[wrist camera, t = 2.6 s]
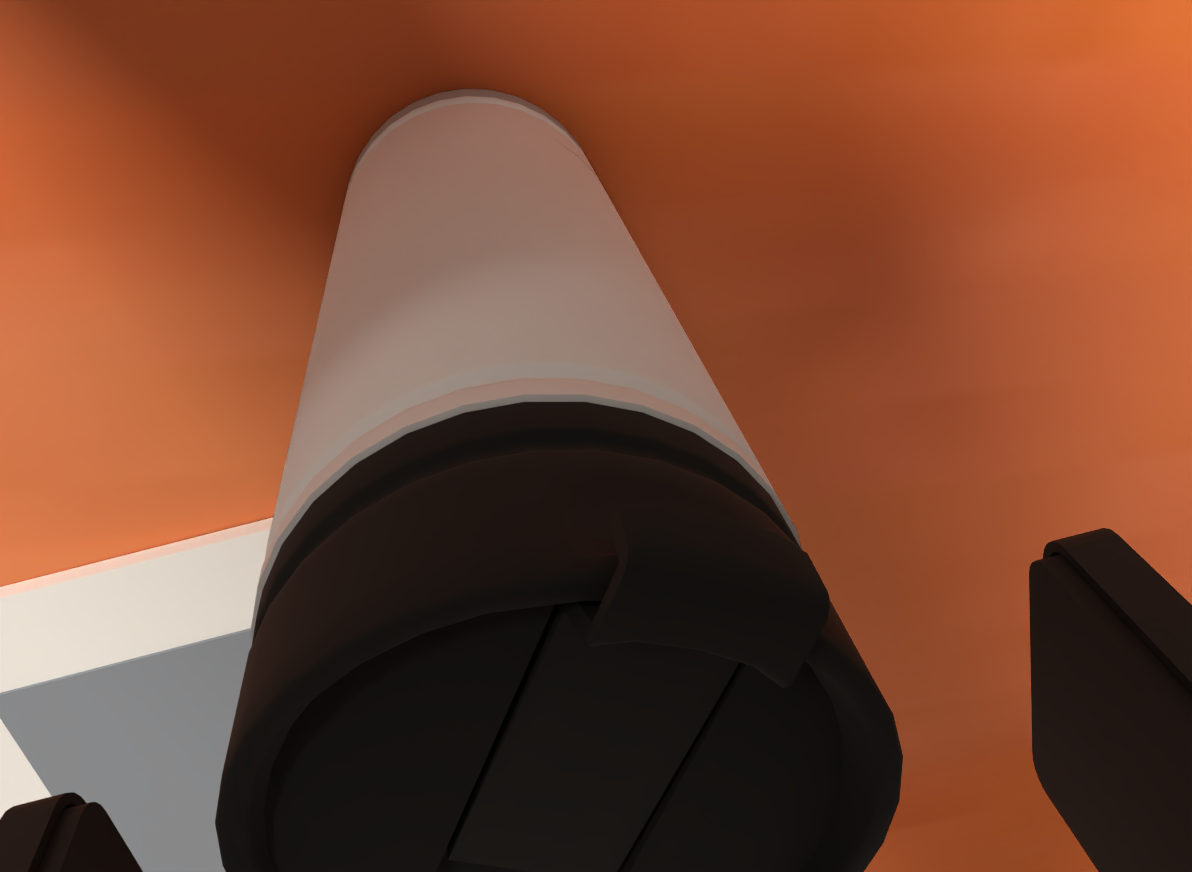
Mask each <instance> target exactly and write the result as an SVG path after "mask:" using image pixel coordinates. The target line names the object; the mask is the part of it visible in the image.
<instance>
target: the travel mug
mask: <svg viewBox="0 0 1192 872" xmlns="http://www.w3.org/2000/svg"><path fill="white" fill-rule="evenodd" d="M250 634H251V644H252V647H251V649H250V651H249V653H248V658H247V663H246V667H245V672H244V676H243V681H242V685H241V690H240V695H239V699H238V704H237V708H236V713H235V718H234V722H233V727H232V731H231V736H230V740H229V745H228V750H227V754H226V759H225V763H224V768H223V772H222V777H221V784H220V791H219V798H218V805H217V811H216V818H215V826H216V832H217V837H218V843H219V848H220V854H221V859H222V865H223V867H224V869H225V871H226V872H864V870H865V869H866V867H867V866H868V864H869V863H870V862H871V860H872V859H873V857H874V856H875V854H876V853H877V851H878V850H879V848H880V847H881V845H882V844H883V842H884V839H885V837H886V834H887V832H888V829H889V826H890V824H891V821H892V819H893V816H894V813H895V811H896V808H897V805H898V803H899V797H900V785H901V773H902V761H903V755H902V750H901V746H900V742H899V737H898V733H897V729H896V724H895V720H894V716H893V713H892V711H891V710H890V708H889V706H888V704H887V703H886V701H885V699H884V697H883V695H882V694H881V692H880V690H879V688H878V687H877V685H876V683H875V681H874V679H873V678H872V676H871V674H870V672H869V670H868V669H867V667H866V665H865V663H864V661H863V659H862V658H861V656H860V654H859V652H858V650H857V649H856V647H855V645H854V643H853V641H852V639H851V638H850V636H849V634H848V632H847V630H846V629H845V627H844V625H843V623H842V621H841V619H840V618H839V616H838V614H837V612H836V610H835V609H834V607H833V605H832V603H831V601H830V599H829V595H828V592H827V589H826V588H825V586H824V584H823V582H822V580H821V578H820V576H819V574H818V573H817V571H816V569H815V567H814V565H813V563H812V561H811V559H810V558H809V556H808V554H807V553H806V552H804V551H803V550H802V548H801V544H800V541H799V537H798V534H797V530H796V528H795V526H794V524H793V523H792V521H791V519H790V517H789V515H788V514H787V512H786V510H785V508H784V507H783V505H782V503H781V502H780V500H779V498H778V496H777V495H776V493H775V491H774V489H773V487H772V485H771V484H770V482H769V480H768V478H767V476H766V475H765V473H764V471H763V469H762V468H761V466H760V464H759V462H758V460H757V459H756V457H755V455H754V453H753V452H752V450H751V448H750V446H749V445H748V443H747V441H746V439H745V437H744V436H743V434H742V432H741V430H740V429H739V427H738V425H737V423H736V421H735V420H734V418H733V416H732V414H731V413H730V411H729V409H728V407H727V406H726V404H725V402H724V400H723V398H722V397H721V395H720V393H719V391H718V390H717V388H716V386H715V384H714V382H713V381H712V379H711V377H710V375H709V374H708V372H707V370H706V368H705V367H704V365H703V363H702V361H701V359H700V358H699V356H698V354H697V352H696V351H695V349H694V347H693V345H692V344H691V342H690V340H689V338H688V336H687V335H686V333H685V331H684V329H683V328H682V326H681V324H680V322H679V320H678V319H677V317H676V315H675V313H674V312H673V310H672V308H671V306H670V305H669V303H668V301H667V299H666V297H665V296H664V294H663V292H662V290H661V289H660V287H659V285H658V283H657V281H656V280H655V278H654V276H653V274H652V273H651V271H650V269H649V267H648V266H647V264H646V262H645V260H644V258H643V257H642V255H641V253H640V251H639V250H638V248H637V246H636V244H635V242H634V241H633V239H632V237H631V235H630V234H629V232H628V230H627V228H626V227H625V225H624V223H623V221H622V219H621V218H620V216H619V214H618V212H617V211H616V209H615V207H614V205H613V204H612V202H611V200H610V198H609V196H608V195H607V193H606V191H605V189H604V188H603V186H602V184H601V182H600V180H599V179H598V177H597V175H596V173H595V172H594V170H593V168H592V166H591V165H590V163H589V161H588V159H587V158H586V156H585V154H584V152H583V151H582V149H581V147H580V146H579V144H578V142H577V141H576V140H575V139H574V138H573V136H572V135H571V134H570V133H569V132H568V131H567V130H566V129H565V127H564V126H563V125H562V124H561V123H560V122H559V121H557V120H556V119H555V118H553V117H552V116H551V115H549V114H548V113H547V112H545V111H544V110H543V109H541V108H540V107H538V106H536V105H534V104H532V103H530V102H528V101H525V100H523V99H521V98H519V97H517V96H514V95H510V94H506V93H502V92H498V91H494V90H485V89H459V90H452V91H446V92H440V93H436V94H434V95H431V96H428V97H426V98H423V99H420V100H418V101H415V102H413V103H411V104H410V105H408V106H407V107H405V108H404V109H402V110H400V111H399V112H397V113H396V114H394V115H393V116H391V117H390V118H389V119H388V120H387V121H386V122H385V123H384V124H383V125H382V126H381V127H380V128H379V129H378V130H377V131H376V132H375V133H374V134H373V135H372V137H371V138H370V140H369V141H368V143H367V144H366V146H365V147H364V149H363V150H362V152H361V153H360V155H359V157H358V159H357V162H356V164H355V167H354V170H353V172H352V175H351V177H350V180H349V184H348V189H347V194H346V198H345V202H344V207H343V211H342V215H341V220H340V224H339V229H338V233H337V237H336V242H335V246H334V251H333V255H332V259H331V264H330V268H329V273H328V277H327V282H326V286H325V290H324V295H323V299H322V304H321V308H320V312H319V317H318V321H317V326H316V330H315V335H314V339H313V343H312V348H311V352H310V357H309V361H308V365H307V370H306V374H305V379H304V383H303V388H302V392H301V396H300V401H299V405H298V410H297V414H296V418H295V423H294V427H293V432H292V436H291V441H290V445H289V449H288V454H287V458H286V463H285V467H284V471H283V476H282V480H281V485H280V489H279V494H278V498H277V502H276V507H275V511H274V516H273V520H272V524H271V529H270V533H269V538H268V543H267V549H266V555H265V561H264V563H263V565H262V569H261V573H260V577H259V582H258V586H257V593H256V599H255V606H254V612H253V618H252V625H251V631H250Z"/></svg>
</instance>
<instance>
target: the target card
mask: <svg viewBox="0 0 1192 872" xmlns="http://www.w3.org/2000/svg"><path fill="white" fill-rule="evenodd" d="M272 520H273V517H272V518H268V519H265V520H261V521H257V522H253V523H249V524H245V525H241V526H237V527H233V528H229V529H225V530H221V531H218V532H214V533H210V534H206V535H202V536H198V537H194V538H190V539H186V540H182V541H178V542H175V543H171V544H167V545H163V546H159V547H155V548H151V549H147V550H143V551H139V552H135V553H131V554H128V555H124V556H120V557H116V558H112V559H108V560H104V561H100V562H96V563H92V564H88V565H85V566H81V567H77V568H73V569H69V570H65V571H61V572H57V573H53V574H49V575H45V576H41V577H38V578H34V579H30V580H26V581H22V582H18V583H14V584H10V585H6V586H2V587H0V819H1V817H2V816H3V814H4V813H5V811H7V810H8V809H10V808H11V807H13V806H16V805H20V804H24V803H28V802H32V801H36V800H40V799H44V798H48V797H52V796H56V795H60V794H63V793H70V792H74V793H76V794H78V795H80V796H81V797H82V798H83V799H84V800H85V802H86V803H90V802H97V803H99V804H101V805H102V807H103V808H104V809H105V810H106V812H107V814H108V815H109V817H110V818H111V820H112V822H113V823H114V825H115V827H116V828H117V830H118V832H119V833H120V835H121V836H122V838H123V840H124V841H125V843H126V845H127V846H128V848H129V849H130V851H131V853H132V854H133V856H134V858H135V859H136V861H137V863H138V864H139V866H140V867H141V869H142V871H143V872H226V871H225V869H224V867H223V865H222V859H221V854H220V848H219V843H218V837H217V832H216V826H215V818H216V811H217V805H218V798H219V791H220V784H221V777H222V772H223V768H224V763H225V759H226V754H227V750H228V745H229V740H230V736H231V731H232V727H233V722H234V718H235V713H236V708H237V704H238V699H239V695H240V690H241V685H242V681H243V676H244V672H245V667H246V663H247V658H248V653H249V651H250V649H251V647H252V644H251V634H250V631H251V625H252V618H253V612H254V606H255V599H256V593H257V586H258V582H259V577H260V573H261V569H262V565H263V563H264V561H265V555H266V549H267V543H268V538H269V533H270V529H271V524H272Z"/></svg>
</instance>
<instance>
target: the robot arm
mask: <svg viewBox="0 0 1192 872" xmlns="http://www.w3.org/2000/svg"><path fill="white" fill-rule="evenodd" d="M1029 590H1030V645H1031V700H1032V753H1033V761H1034V765H1035V769H1036V772H1037V775H1038V778H1039V780H1040V782H1041V784H1042V787H1043V788H1044V790H1045V792H1046V794H1047V795H1048V797H1049V798H1050V800H1051V801H1052V803H1053V804H1054V806H1055V807H1056V809H1057V810H1058V812H1059V813H1060V815H1061V816H1062V818H1063V819H1064V821H1065V822H1066V824H1067V825H1068V827H1069V828H1070V829H1071V831H1072V832H1073V834H1074V835H1075V837H1076V838H1077V840H1078V841H1079V843H1080V844H1081V846H1082V847H1083V849H1084V850H1085V852H1086V853H1087V855H1088V856H1089V858H1090V859H1091V861H1092V862H1093V864H1094V865H1095V867H1096V868H1097V870H1098V871H1099V872H1192V605H1191V604H1190V603H1189V602H1188V601H1187V600H1186V599H1185V598H1184V597H1183V596H1182V595H1180V594H1179V593H1178V592H1177V591H1176V590H1175V589H1174V588H1173V587H1172V586H1171V585H1170V584H1169V583H1168V582H1167V581H1166V580H1165V579H1164V578H1163V577H1162V576H1161V575H1160V574H1158V573H1157V572H1156V571H1155V570H1154V569H1153V568H1152V567H1151V566H1150V565H1149V564H1148V563H1147V562H1146V561H1145V560H1144V559H1143V558H1142V557H1141V556H1140V555H1139V554H1138V553H1136V552H1135V551H1134V550H1133V549H1132V548H1131V547H1130V546H1129V545H1128V544H1127V543H1126V542H1125V541H1124V540H1123V539H1122V538H1121V537H1120V536H1119V535H1117V534H1116V533H1115V532H1113V531H1112V530H1111V529H1106V528H1102V529H1098V530H1094V531H1090V532H1086V533H1082V534H1078V535H1074V536H1071V537H1067V538H1063V539H1059V540H1055V541H1051V542H1049V543H1048V544H1047V545H1046V547H1045V549H1044V554H1043V559H1041V560H1037V561H1034V562H1032V564H1031V566H1030V571H1029ZM0 872H143V871H142V869H141V867H140V866H139V864H138V863H137V861H136V859H135V858H134V856H133V854H132V853H131V851H130V849H129V848H128V846H127V845H126V843H125V841H124V840H123V838H122V836H121V835H120V833H119V832H118V830H117V828H116V827H115V825H114V823H113V822H112V820H111V818H110V817H109V815H108V814H107V812H106V810H105V809H104V808H103V807H102V805H101V804H99V803H97V802H90V803H86V802H85V800H84V799H83V798H82V797H81V796H80V795H78V794H76V793H74V792H70V793H63V794H60V795H56V796H52V797H48V798H44V799H40V800H36V801H32V802H28V803H24V804H20V805H16V806H13V807H11V808H10V809H8V810H7V811H5V813H4V814H3V816H2V817H1V819H0Z"/></svg>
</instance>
